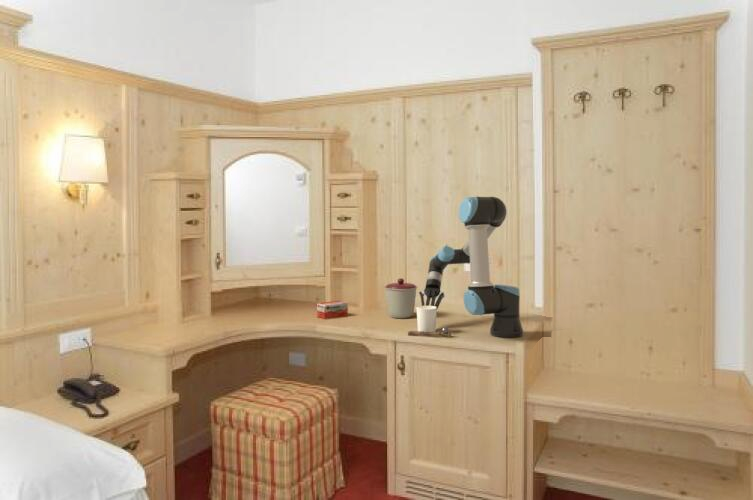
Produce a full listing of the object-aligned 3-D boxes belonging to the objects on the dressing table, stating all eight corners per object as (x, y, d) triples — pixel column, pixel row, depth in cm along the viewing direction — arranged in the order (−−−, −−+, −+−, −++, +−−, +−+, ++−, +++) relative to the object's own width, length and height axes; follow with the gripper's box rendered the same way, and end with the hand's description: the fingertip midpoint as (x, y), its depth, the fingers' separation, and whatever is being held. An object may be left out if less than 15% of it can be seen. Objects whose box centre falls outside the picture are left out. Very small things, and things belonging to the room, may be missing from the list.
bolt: (448, 332, 291) (448, 327, 291) (447, 334, 289) (447, 328, 289) (442, 332, 292) (442, 327, 292) (441, 333, 290) (441, 328, 289)
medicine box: (324, 319, 336) (324, 305, 335) (316, 317, 343) (316, 303, 342) (348, 316, 345) (348, 302, 344) (340, 314, 352) (339, 300, 351)
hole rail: (451, 336, 292) (451, 332, 291) (449, 337, 288) (449, 334, 288) (409, 334, 297) (409, 330, 297) (408, 335, 294) (408, 332, 294)
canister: (423, 318, 336) (423, 279, 335) (392, 321, 330) (391, 281, 328) (409, 312, 353) (409, 275, 351) (379, 315, 346) (379, 277, 345)
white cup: (419, 334, 295) (419, 309, 295) (414, 330, 305) (413, 306, 304) (439, 333, 297) (439, 308, 297) (433, 329, 307) (433, 305, 306)
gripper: (447, 287, 321) (441, 325, 306) (422, 286, 325) (415, 324, 310) (445, 278, 315) (439, 317, 301) (420, 277, 319) (412, 315, 304)
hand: (427, 320), depth 305 cm, fingers closed
